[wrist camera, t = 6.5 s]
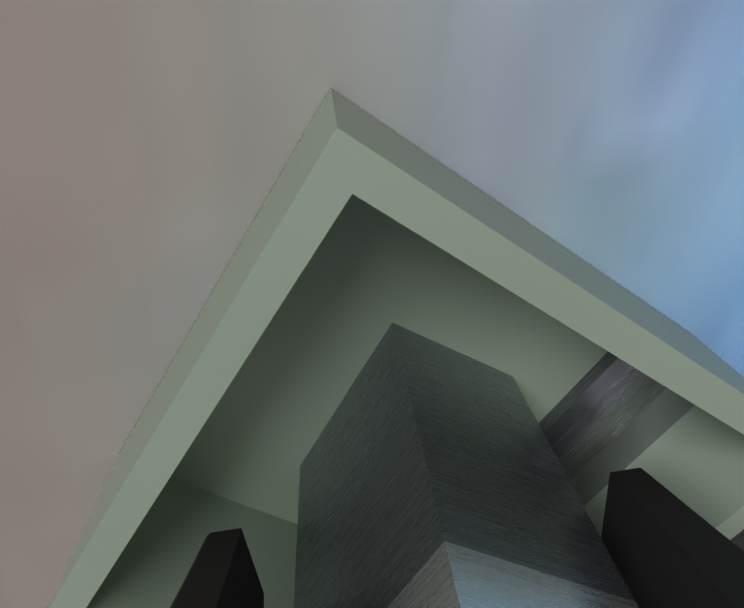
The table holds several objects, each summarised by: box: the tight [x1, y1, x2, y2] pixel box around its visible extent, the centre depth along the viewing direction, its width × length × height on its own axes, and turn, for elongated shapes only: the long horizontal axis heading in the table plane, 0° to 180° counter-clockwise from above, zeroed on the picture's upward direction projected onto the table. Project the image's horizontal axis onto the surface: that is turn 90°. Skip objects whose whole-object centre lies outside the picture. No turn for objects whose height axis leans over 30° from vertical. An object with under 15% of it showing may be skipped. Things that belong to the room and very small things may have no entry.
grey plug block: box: [294, 322, 639, 608], centre depth 11 cm, size 4×5×7 cm
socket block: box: [538, 352, 744, 551], centre depth 16 cm, size 10×10×2 cm
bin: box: [47, 88, 744, 608], centre depth 12 cm, size 11×11×5 cm
